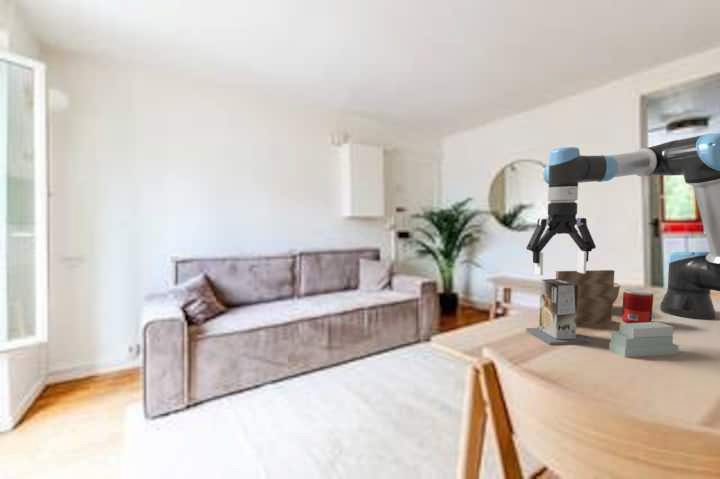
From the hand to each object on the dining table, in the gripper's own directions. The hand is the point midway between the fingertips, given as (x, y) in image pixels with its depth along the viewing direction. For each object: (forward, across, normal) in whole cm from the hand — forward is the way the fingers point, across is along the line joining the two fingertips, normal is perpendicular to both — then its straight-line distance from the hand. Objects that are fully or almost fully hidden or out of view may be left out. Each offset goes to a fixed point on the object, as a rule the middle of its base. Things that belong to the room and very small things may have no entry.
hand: (560, 273), depth 106 cm
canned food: (+20, +35, +10) cm, 42 cm away
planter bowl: (+20, +32, +26) cm, 46 cm away
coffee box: (+19, 0, 0) cm, 19 cm away
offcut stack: (+20, +15, -13) cm, 28 cm away
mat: (+19, -1, 0) cm, 19 cm away
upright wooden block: (+20, +16, +13) cm, 29 cm away
